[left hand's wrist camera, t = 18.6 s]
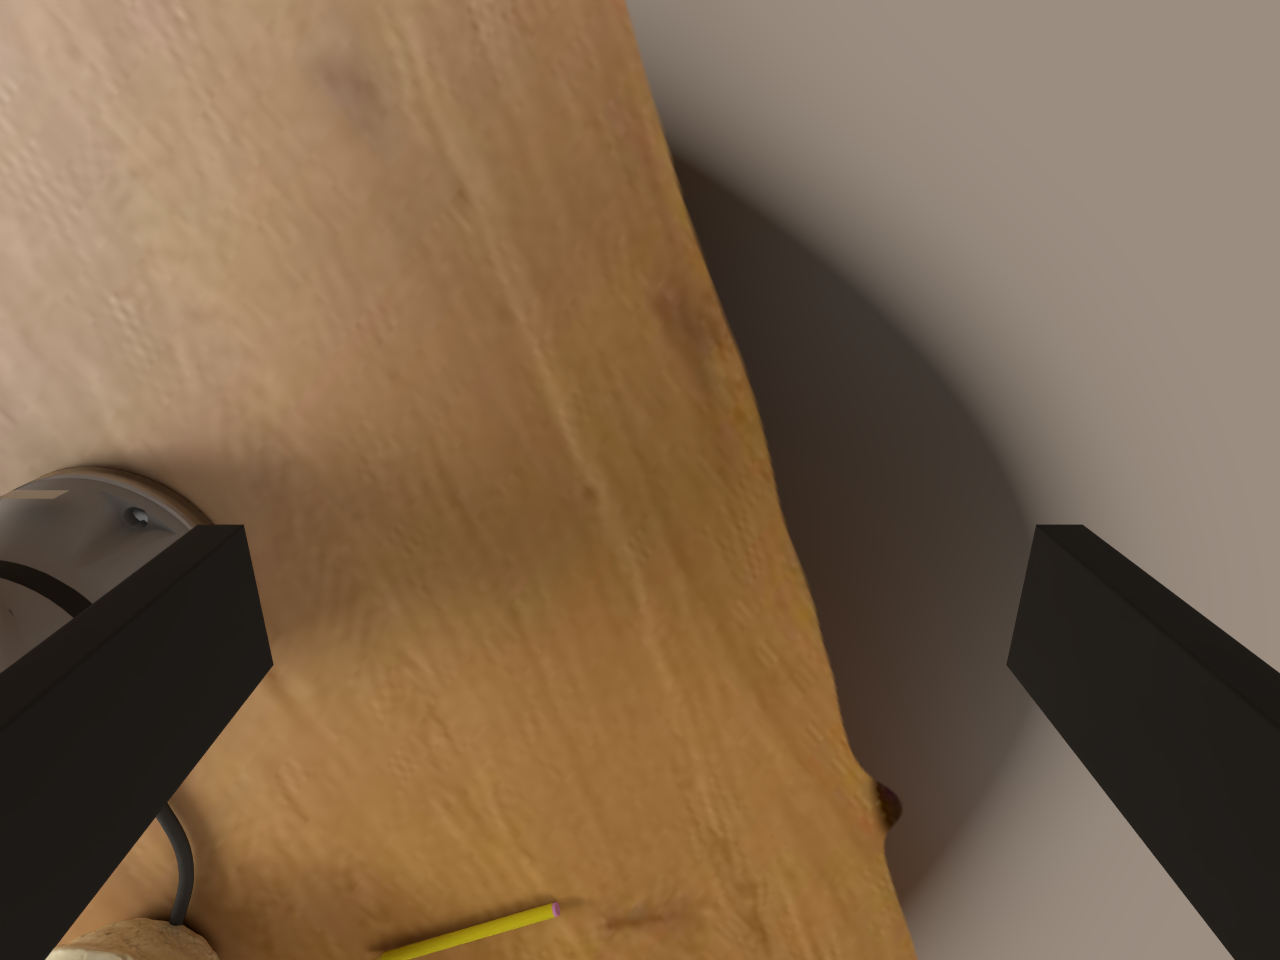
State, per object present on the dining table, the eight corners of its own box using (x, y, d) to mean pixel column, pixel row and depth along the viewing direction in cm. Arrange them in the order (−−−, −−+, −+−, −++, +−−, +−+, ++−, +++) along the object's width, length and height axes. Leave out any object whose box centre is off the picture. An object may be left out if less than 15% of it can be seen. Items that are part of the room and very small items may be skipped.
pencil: (555, 898, 57) (554, 910, 57) (560, 907, 58) (559, 919, 57) (367, 954, 60) (363, 966, 59) (373, 962, 60) (369, 974, 59)
